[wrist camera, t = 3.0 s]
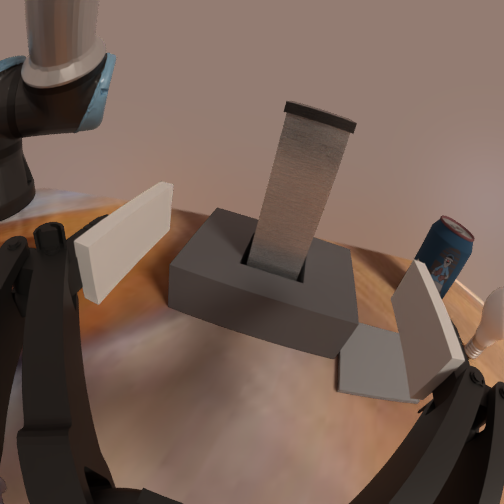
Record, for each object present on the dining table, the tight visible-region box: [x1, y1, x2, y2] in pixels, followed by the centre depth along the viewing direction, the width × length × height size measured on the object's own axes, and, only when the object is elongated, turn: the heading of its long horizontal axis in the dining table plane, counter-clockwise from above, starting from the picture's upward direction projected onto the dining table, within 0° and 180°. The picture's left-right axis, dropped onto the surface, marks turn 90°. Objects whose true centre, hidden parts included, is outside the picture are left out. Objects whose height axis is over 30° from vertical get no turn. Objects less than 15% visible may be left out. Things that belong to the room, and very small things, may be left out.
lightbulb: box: [465, 287, 504, 359], centre depth 23 cm, size 6×6×11 cm
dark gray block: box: [168, 208, 359, 359], centre depth 28 cm, size 16×12×5 cm
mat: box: [337, 323, 420, 404], centre depth 24 cm, size 9×9×1 cm
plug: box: [246, 101, 356, 281], centre depth 24 cm, size 5×5×19 cm
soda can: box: [404, 216, 474, 299], centre depth 32 cm, size 7×7×12 cm
